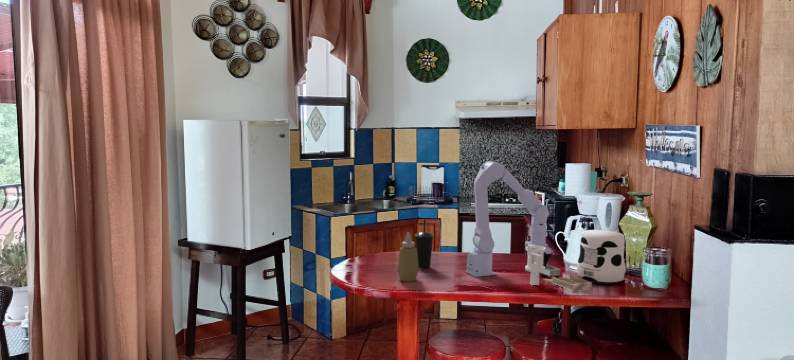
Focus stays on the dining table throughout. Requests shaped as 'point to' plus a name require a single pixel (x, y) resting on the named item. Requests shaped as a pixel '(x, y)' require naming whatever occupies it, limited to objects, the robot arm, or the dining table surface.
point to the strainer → (535, 262)
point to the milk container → (601, 257)
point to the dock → (571, 283)
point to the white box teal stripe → (551, 271)
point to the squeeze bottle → (408, 260)
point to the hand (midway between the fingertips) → (537, 267)
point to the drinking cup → (424, 248)
